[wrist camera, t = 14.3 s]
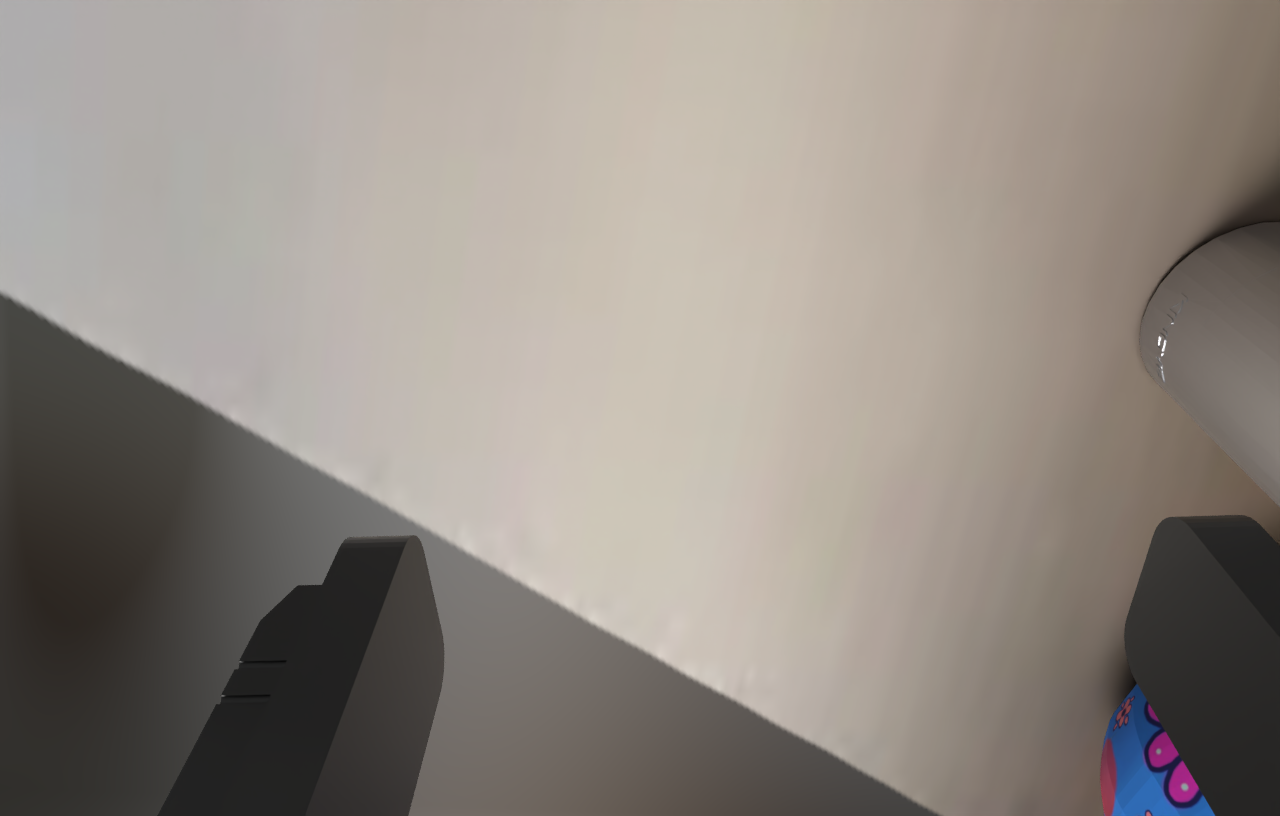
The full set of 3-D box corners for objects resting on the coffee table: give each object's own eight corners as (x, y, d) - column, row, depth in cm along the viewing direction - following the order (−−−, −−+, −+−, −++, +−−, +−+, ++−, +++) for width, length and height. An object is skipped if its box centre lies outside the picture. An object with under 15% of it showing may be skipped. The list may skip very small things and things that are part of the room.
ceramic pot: (996, 732, 57) (1098, 982, 44) (1203, 541, 49) (1401, 781, 36) (1199, 808, 61) (1346, 1058, 48) (1422, 644, 53) (1670, 893, 40)
